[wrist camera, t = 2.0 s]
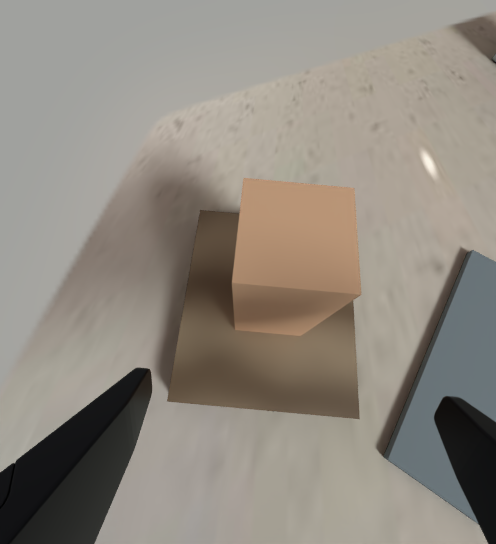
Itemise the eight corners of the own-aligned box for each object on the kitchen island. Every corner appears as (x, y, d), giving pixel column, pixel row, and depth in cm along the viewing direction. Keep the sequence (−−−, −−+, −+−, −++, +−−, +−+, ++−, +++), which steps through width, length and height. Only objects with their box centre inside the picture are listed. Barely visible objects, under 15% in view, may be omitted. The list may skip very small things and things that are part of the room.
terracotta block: (300, 335, 19) (361, 294, 10) (235, 330, 19) (231, 282, 10) (301, 274, 21) (354, 188, 11) (241, 269, 21) (243, 177, 11)
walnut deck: (347, 414, 19) (359, 419, 17) (174, 399, 19) (167, 401, 17) (340, 235, 24) (349, 223, 22) (203, 223, 24) (200, 210, 22)
